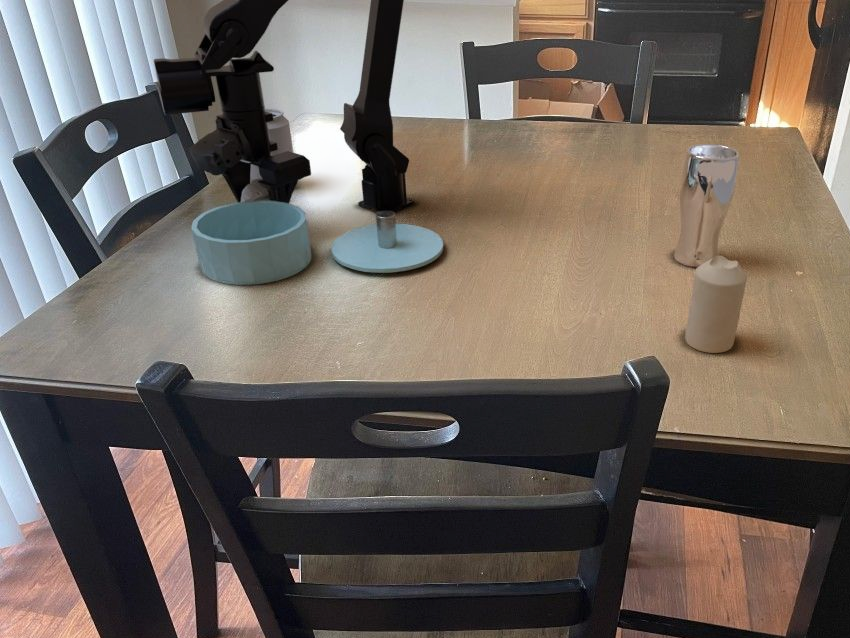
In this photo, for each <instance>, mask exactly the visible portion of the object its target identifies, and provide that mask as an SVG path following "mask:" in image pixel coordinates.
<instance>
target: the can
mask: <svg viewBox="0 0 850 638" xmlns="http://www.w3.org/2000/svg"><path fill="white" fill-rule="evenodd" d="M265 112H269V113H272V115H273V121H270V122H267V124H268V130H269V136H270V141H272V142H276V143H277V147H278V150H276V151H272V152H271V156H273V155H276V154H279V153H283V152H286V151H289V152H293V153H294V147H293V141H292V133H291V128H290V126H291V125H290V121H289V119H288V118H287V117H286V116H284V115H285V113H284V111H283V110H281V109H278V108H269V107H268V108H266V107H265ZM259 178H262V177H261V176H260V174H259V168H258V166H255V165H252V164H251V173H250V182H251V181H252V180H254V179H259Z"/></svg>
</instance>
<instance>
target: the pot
mask: <svg viewBox="0 0 850 638" xmlns="http://www.w3.org/2000/svg"><path fill="white" fill-rule="evenodd" d="M308 227H309V226H308V221H307V213H306V212H305V211H304V210H303V209H302V208H301V207H299V206H298V205H295V204H291V203H290V202H289V203H285V202H277V201H246V202H232V203H228V204H224V205H221V206H216V207H213V208H211V209H209V210H206V211H205V212H202V213H201V214H199V215H198V216H197V217H196V218H195V219H194V220H193V221H192V224H191V227H190V229H191V234H192V238H193V242H194V246H195V252H196V255H197V260H198V264H199V267H200V269H201V271H202V274H203V275H204V276H205V277H207V278H208V279H210V280H212V281H214V282H218V283H220V284H226V285H236V286H238V285H240V286H251V285H253V286H254V285H262V284H268V283H273V282H278V281H281V280H285V279H287V278H290V277H292V276H294V275H296V274H298V273H300V272H302V271H304V269H305V268H307V267H308V266H309V265H310V263H311V261H312V248H311V241H310V240H311V239H310V234H309V228H308Z"/></svg>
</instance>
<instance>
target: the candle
mask: <svg viewBox="0 0 850 638" xmlns="http://www.w3.org/2000/svg"><path fill="white" fill-rule="evenodd" d="M747 280H748V275H747V273H746V272H745V270H744V269H743V268H742V266H741V265H740V263H739V261H738V260H729V259H728V258H727V257H726V256H723V255H719V256H715V257H714V258H712V259H711V260H709V261H707V262H705V263H703V264H702V265H700V266H699V267H698V268H697V267H696V269H695V271H694V278H693V284H692V291H691V297H690V302H689V308H688V316H687V320H686V321H687V322H686V328H685V334H684V339H685V342H686V344H687V345H689V346H690V347H691V348H693V349H695V350H697V351H700V352H703V353H709V354H719V353H724V352H727V351H729V350H731V349H732V348H733V346H734V343H735V339H736V336H737V335H736V334H737V330H738V325H739V320H740V315H741V309H742V306H743V300H744V296H745V295H744V294H745V291H746V285H747Z"/></svg>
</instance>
